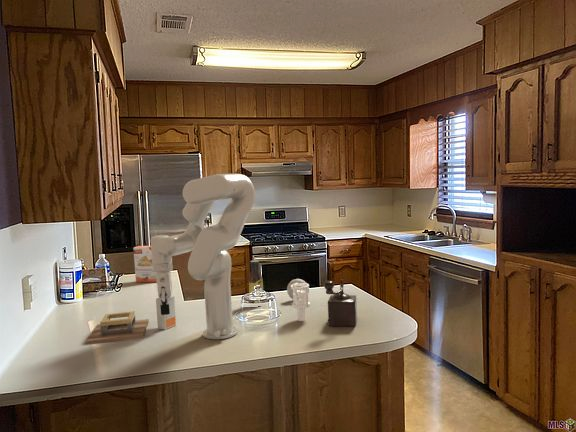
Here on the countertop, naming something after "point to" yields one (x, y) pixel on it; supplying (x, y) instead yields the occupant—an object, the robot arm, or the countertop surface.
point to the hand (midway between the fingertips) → (166, 311)
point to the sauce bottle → (255, 276)
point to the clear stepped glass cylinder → (300, 299)
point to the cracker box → (144, 264)
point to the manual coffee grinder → (341, 307)
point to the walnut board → (136, 333)
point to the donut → (289, 290)
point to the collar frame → (118, 323)
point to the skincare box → (169, 319)
